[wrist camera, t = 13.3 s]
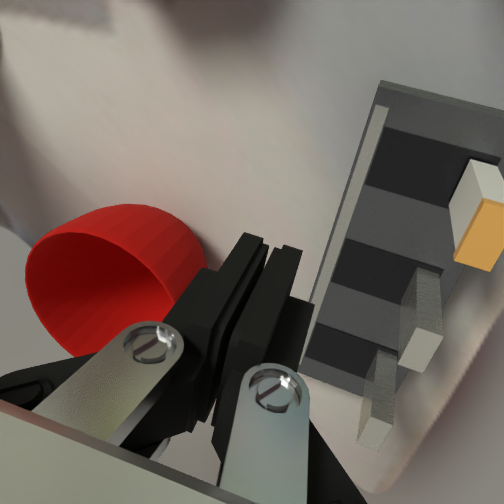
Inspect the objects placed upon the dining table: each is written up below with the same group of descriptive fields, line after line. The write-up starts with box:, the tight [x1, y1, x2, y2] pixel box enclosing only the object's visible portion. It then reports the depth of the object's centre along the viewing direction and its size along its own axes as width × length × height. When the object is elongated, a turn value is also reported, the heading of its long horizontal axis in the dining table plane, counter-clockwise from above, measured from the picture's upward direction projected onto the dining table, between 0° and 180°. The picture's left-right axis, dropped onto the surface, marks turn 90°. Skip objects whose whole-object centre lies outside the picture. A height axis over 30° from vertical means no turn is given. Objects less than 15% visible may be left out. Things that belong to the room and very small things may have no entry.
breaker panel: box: [297, 80, 504, 452], centre depth 29 cm, size 24×9×9 cm, turn 169°
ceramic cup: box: [25, 204, 208, 357], centre depth 36 cm, size 13×17×10 cm
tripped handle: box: [449, 159, 504, 272], centre depth 23 cm, size 3×2×7 cm, turn 169°
